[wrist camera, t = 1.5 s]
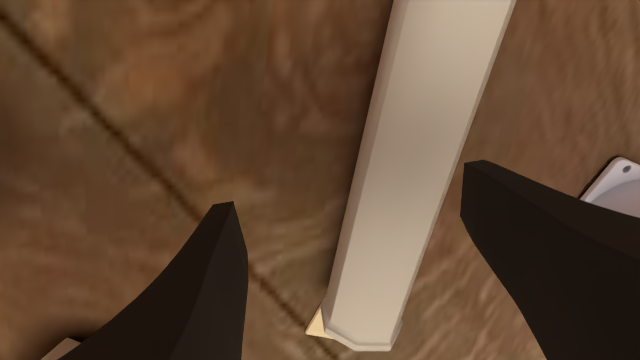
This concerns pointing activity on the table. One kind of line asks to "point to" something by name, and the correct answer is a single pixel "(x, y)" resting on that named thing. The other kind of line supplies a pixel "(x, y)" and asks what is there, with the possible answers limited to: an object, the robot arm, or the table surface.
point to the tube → (408, 159)
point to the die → (61, 349)
